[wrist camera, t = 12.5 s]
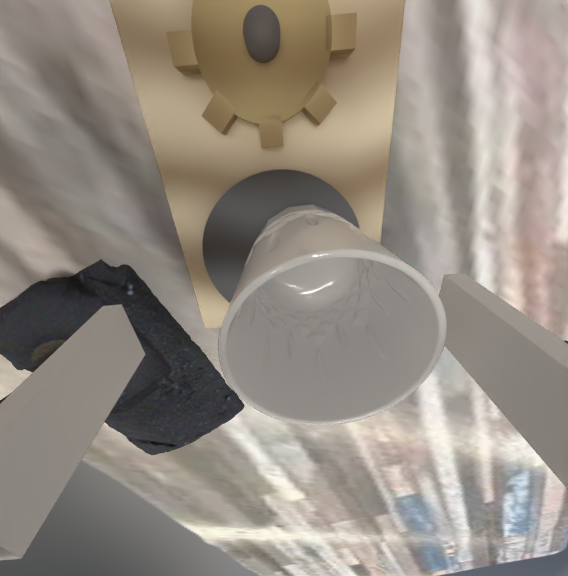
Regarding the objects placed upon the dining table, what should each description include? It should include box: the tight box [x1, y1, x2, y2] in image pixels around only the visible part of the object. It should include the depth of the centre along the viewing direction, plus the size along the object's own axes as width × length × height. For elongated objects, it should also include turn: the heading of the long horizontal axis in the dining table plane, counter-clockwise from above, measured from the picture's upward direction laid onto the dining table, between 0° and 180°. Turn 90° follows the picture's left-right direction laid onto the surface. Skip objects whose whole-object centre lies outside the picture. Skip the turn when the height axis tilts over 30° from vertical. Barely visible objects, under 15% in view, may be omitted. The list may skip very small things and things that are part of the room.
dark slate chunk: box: [0, 259, 244, 455], centre depth 24 cm, size 15×22×5 cm
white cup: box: [218, 204, 447, 425], centre depth 13 cm, size 8×8×10 cm
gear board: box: [110, 0, 405, 329], centre depth 15 cm, size 22×14×4 cm, turn 5°
